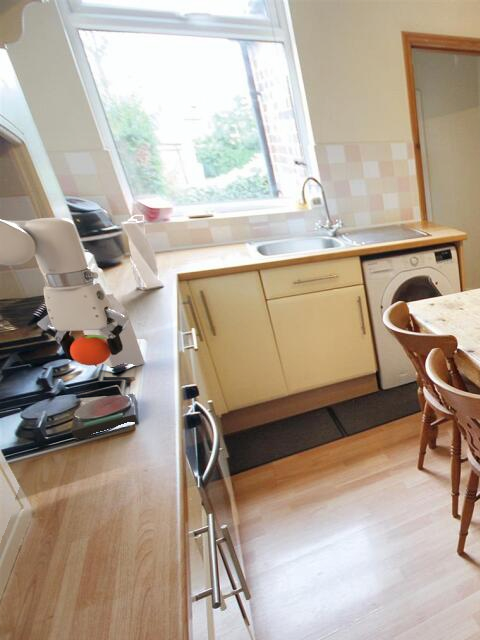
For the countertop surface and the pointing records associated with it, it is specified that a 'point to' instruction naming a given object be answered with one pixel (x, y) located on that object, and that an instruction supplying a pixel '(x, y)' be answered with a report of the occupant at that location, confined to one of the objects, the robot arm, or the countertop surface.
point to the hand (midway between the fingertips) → (95, 353)
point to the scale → (106, 421)
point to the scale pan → (103, 407)
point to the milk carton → (128, 339)
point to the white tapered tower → (142, 254)
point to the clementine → (90, 350)
